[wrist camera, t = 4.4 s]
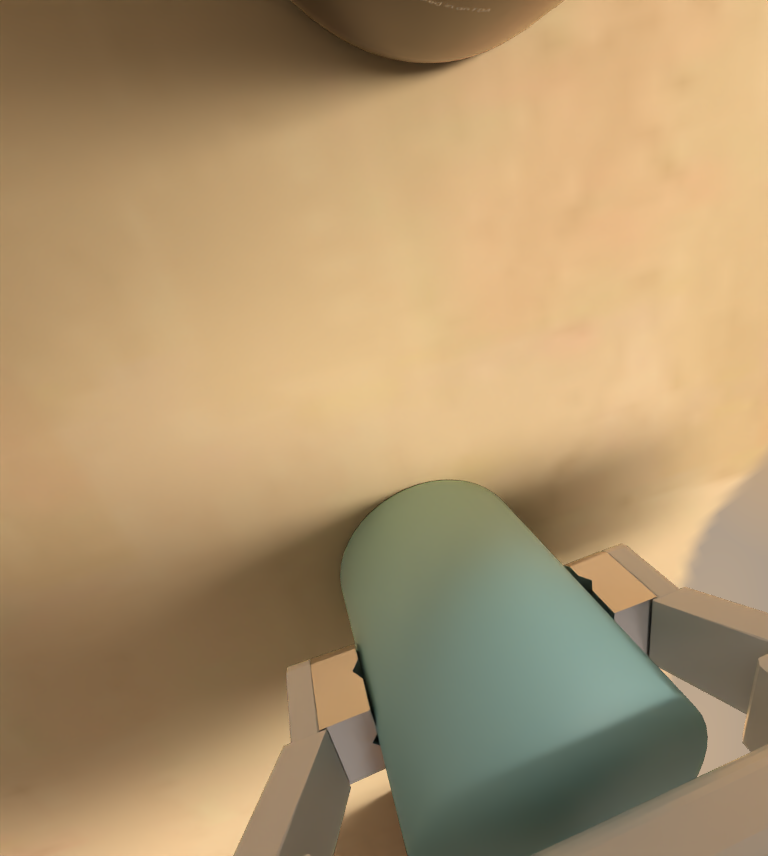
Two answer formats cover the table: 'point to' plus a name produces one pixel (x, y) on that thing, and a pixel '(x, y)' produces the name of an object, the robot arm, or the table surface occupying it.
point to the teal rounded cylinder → (502, 681)
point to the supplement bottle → (426, 25)
